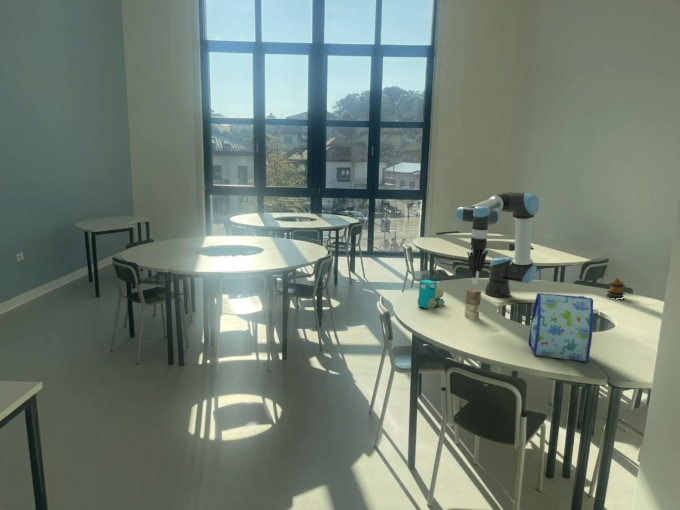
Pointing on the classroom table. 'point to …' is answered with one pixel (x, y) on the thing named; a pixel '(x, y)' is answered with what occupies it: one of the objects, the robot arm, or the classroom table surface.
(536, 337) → the lunch bag
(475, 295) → the walnut block
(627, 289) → the classroom table surface
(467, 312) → the maple block
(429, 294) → the toy train
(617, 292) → the orange tiered tower
